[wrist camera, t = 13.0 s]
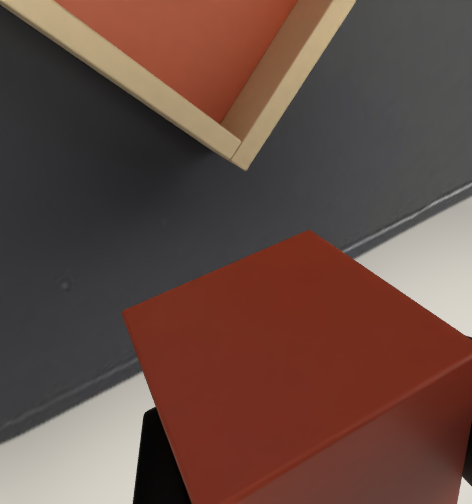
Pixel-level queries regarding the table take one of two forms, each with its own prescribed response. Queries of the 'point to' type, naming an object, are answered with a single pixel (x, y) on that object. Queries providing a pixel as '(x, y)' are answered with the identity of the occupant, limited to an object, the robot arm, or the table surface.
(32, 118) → the table surface
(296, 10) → the sorting tray
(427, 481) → the red block
